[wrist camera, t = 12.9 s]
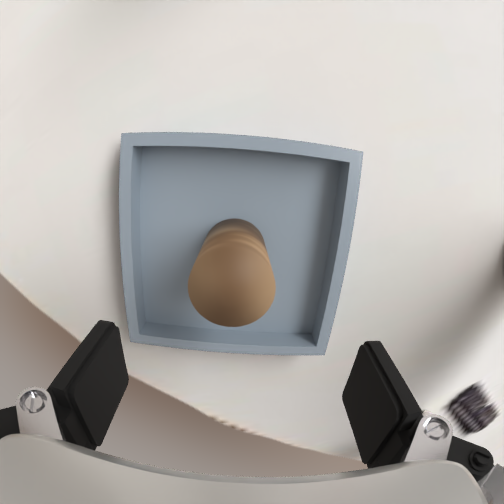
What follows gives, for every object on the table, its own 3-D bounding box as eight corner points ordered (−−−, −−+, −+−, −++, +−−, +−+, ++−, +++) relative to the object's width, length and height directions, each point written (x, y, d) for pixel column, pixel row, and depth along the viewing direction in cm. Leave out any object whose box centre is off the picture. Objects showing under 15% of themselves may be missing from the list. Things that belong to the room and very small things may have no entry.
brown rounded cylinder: (267, 221, 23) (280, 250, 16) (261, 278, 25) (270, 329, 17) (205, 216, 23) (188, 243, 15) (203, 274, 25) (187, 323, 17)
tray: (349, 151, 22) (363, 151, 20) (317, 337, 28) (324, 355, 25) (135, 135, 21) (121, 133, 19) (139, 324, 27) (130, 341, 24)
